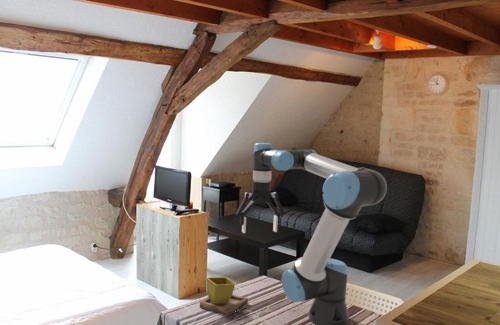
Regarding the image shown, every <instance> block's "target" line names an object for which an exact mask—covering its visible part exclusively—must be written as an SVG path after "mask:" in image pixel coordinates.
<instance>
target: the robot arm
mask: <svg viewBox="0 0 500 325" xmlns="http://www.w3.org/2000/svg"><path fill="white" fill-rule="evenodd" d="M273 146H274V145H273V144H272V143H271V142H270V143H269V142H257V143H255V144H254V147H253V162H252V164H253V167H252V180H253V181H252V188H251V189H252V190H251V192H247V191H245V192H244V194H243V199H242V200H241V202H240V204H239V206H238V208H237V209H236V212H235V215H236V216H239V217H240V218H239V224H240V226H241V225H242V226H241V232H242V233H243V234H246V229H247V228H246V227H247V217H246V216H247V214H248V213H249V212H250V210H252V208H253V207H254V206H255V205H256V204H257V205H261V204H263V205H264V204H267V205H268V207H269V208H270V209H271V210H272V212H274V215H273V225H272V226H273V227H272V231H273V232H274V233H277V232H278V225H279V224H280V222H281V220H280V219H281V216H282V215H285V210H284V209H283V206H282V203H281V202H280V199H279V193H278V192H276V191H274V192H271V190H272V189H271V188H272V182H271V181H272V171H273V169H274V170H278V171H288V170H300V169H301V170H303V171H306V172H309V173H311V174H314V175H316V176H319V177H321V178H324V179H325V181H324V183H323V186H322V193H323V194H322V200H323V205H324V207H325V209H324V211H323V212H322V215H321V217H320V219H319V222H318V224H317V226H316V228H315V230H314V232H313V234H312V237H311V239H310V241H309V243H308V245H307V247H306V249H305V251H304V254H303V256H301V257H299V258H296V260H295V262H294V263H293V264H294V265H293V267H292V268H291V269H286V270H284V272H283V273H282V275H281V285H282V290H283V292H284V294H285V295H286V298H288V300H290V301H291V302H293V303H302V302H305V301H309V300H312V302H311V305H310V307H309V310H308V318H309V321H310V322H311V323H313V324H315V325H348V324H349V322H350V314H349V309H348V306H347V302H346V296H347V295H346V294H347V284H348V283H347V282H348V266H347V264H346V263H345V262H343V261H341V260H339V259H334V258H331V257H332V256H333V253H334V251H335V249H336V247H337V245H338V244H339V241H340V239H341V238H342V235H343V233H344V231H345V229H346V228H347V226H348V224H349V222H350V220H354V219H356V218H357V217H358V215H359V212H360V211H361V209H362V207H367V206H368V207H369V206H373V205H377V204H379V203H380V202H381V201H383V200H384V198H385V196H386V194H387V191H388V184H387V181H386V179H385V177H384V175H382V174H381V173H380V172H378V171H376V170H374V169H370V168H367V167H355V166H352V165H349V164H346V163H344V162H341V161H338V160H335V159H332V158H329V157H326V156H323V155H320V154H318V153H317V151H316V150H313V149H275V148H274V147H273ZM271 197H272V198H273V200H274V203H275V205H276V207H277V208H276V207H275V206H274V203H272V201H271V200H270V199H271ZM250 198H251V200H250V202H248V201H249V199H250ZM247 203H248V204H247ZM246 204H247V205H246ZM245 206H246V207H245ZM277 209H278V210H277Z"/></svg>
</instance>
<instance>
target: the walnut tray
mask: <svg viewBox="0 0 500 325" xmlns="http://www.w3.org/2000/svg"><path fill="white" fill-rule="evenodd" d="M247 303H249V298H248V297H244V296H240V295H235V294H233V293H232V296H231V298H230V300H229V301H228V302H227V303H226V304H219V305H215V304H213V303H212V302H211V301H210V299H209V297H208V296H207V297H206V298H204V299H203V300H201V301H200V302H199V308H201V309H204V310H208V311H211V312H215V311H216V312H215V313H218V312H219V314H222V313H223V314H222V315H226V314H228V315H227V316H229V315H231V314H232V315H234V314H235V313H236V312H238V311H239V310H241V309H242V308H243V307H245V306H246V305H247ZM244 305H245V306H244ZM240 308H241V309H240ZM238 309H239V310H238ZM237 310H238V311H237ZM235 311H236V312H235ZM234 312H235V313H234ZM233 313H234V314H233ZM232 315H231V316H232Z"/></svg>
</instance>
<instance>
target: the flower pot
mask: <svg viewBox="0 0 500 325" xmlns="http://www.w3.org/2000/svg"><path fill="white" fill-rule="evenodd" d="M235 286H236V284H235V282H233V281H232V280H230V279H229V278H228V277H226V276H218V277H210V276H209V277H206V293H207V298H208V297H209V299H210V301H211V302H212V303H213V304H215V305H219V304H226V303H227V302H228V301H229V300H230V298H231V296H232V294H233V293H234V289H235Z"/></svg>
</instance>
